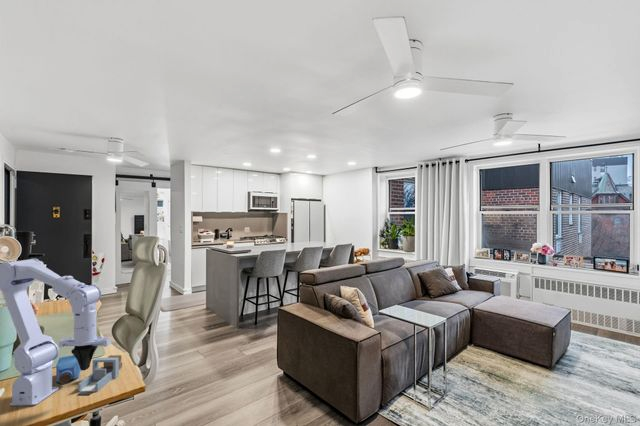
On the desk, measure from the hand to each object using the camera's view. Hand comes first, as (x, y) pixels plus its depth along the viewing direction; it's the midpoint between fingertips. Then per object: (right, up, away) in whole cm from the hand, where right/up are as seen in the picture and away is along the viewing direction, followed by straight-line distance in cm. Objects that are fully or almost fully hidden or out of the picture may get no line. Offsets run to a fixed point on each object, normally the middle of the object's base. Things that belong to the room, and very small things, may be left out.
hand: (85, 368), depth 99 cm
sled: (-3, -9, +15) cm, 18 cm away
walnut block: (-3, -9, +18) cm, 20 cm away
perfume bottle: (-18, -7, +18) cm, 26 cm away
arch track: (-3, -10, +11) cm, 15 cm away
